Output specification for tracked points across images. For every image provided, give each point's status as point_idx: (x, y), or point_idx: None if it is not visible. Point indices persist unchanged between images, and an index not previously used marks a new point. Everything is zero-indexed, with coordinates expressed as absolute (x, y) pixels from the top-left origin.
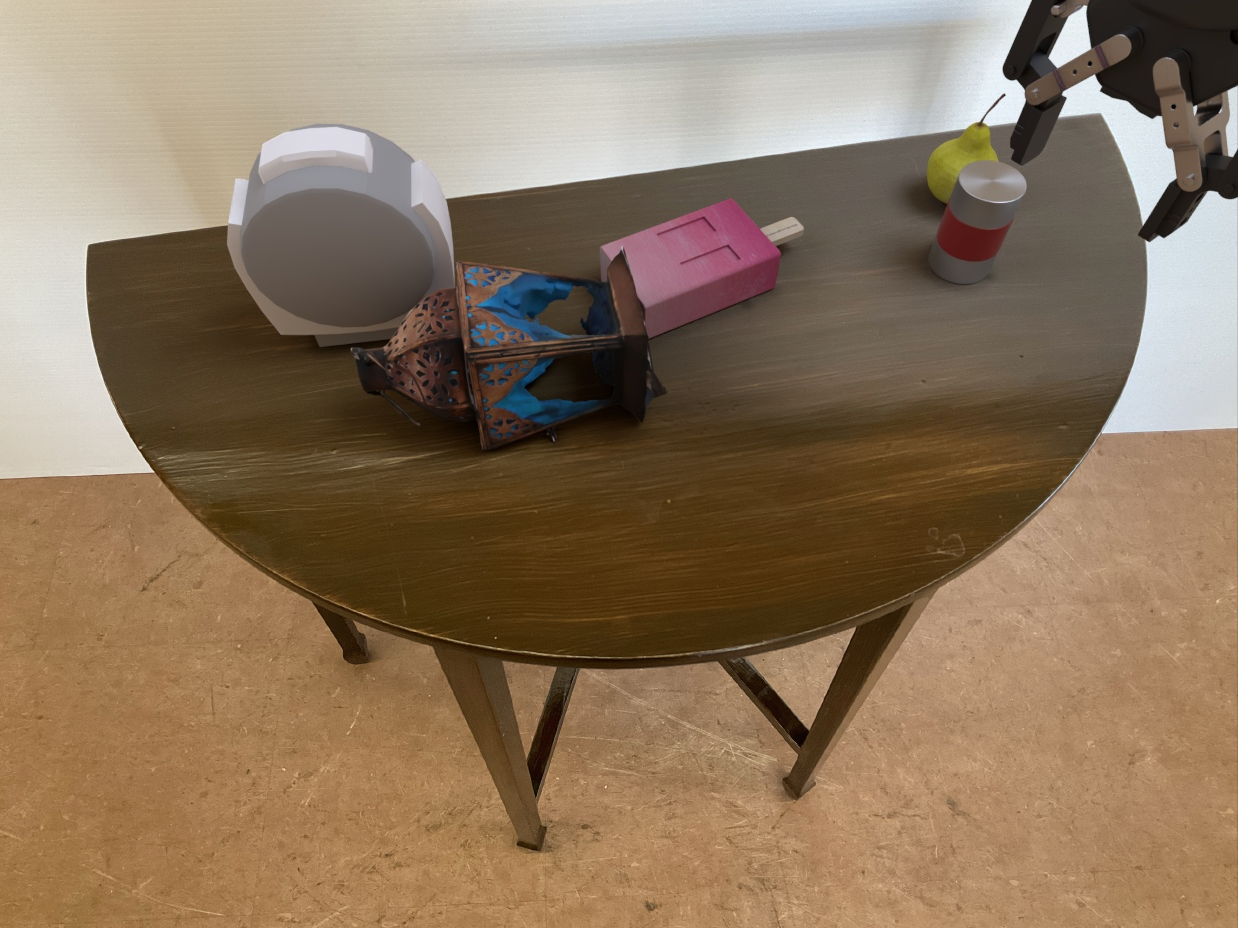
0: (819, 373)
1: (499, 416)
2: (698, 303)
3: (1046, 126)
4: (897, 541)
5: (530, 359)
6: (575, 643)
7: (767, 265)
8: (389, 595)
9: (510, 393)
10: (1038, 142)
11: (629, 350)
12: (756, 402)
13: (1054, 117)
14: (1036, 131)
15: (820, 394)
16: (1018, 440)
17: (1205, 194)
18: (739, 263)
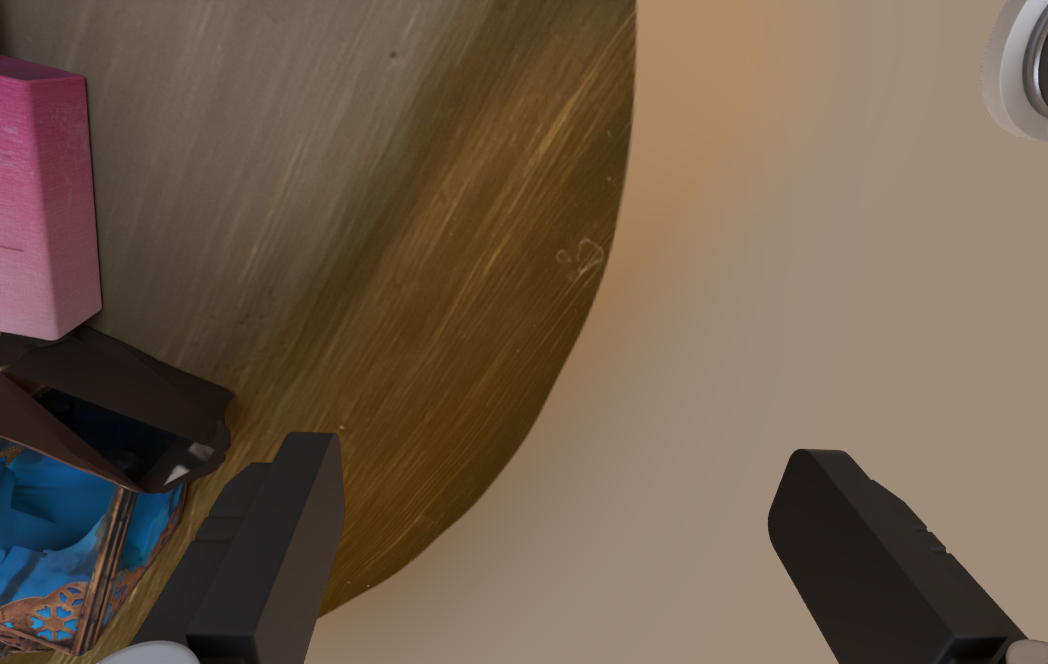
0: (287, 167)
1: (157, 548)
2: (73, 239)
3: (302, 584)
4: (540, 294)
5: (113, 583)
6: (412, 551)
7: (42, 110)
8: None
9: (139, 563)
10: (321, 524)
11: (150, 473)
12: (281, 270)
13: (289, 578)
14: (307, 637)
15: (319, 196)
16: (561, 43)
17: (994, 602)
18: (21, 166)
